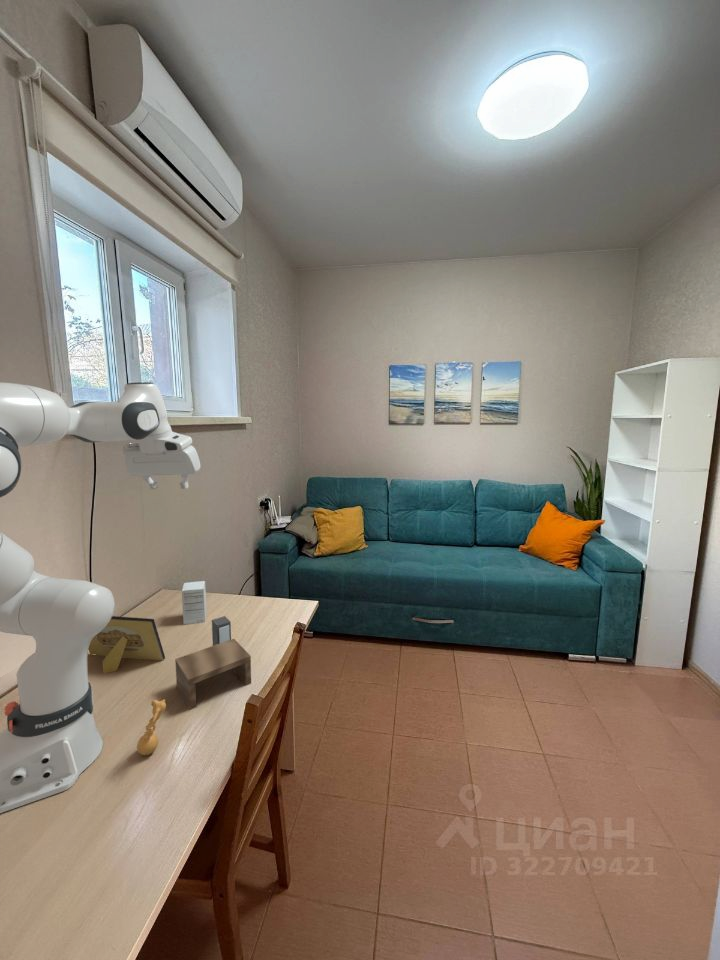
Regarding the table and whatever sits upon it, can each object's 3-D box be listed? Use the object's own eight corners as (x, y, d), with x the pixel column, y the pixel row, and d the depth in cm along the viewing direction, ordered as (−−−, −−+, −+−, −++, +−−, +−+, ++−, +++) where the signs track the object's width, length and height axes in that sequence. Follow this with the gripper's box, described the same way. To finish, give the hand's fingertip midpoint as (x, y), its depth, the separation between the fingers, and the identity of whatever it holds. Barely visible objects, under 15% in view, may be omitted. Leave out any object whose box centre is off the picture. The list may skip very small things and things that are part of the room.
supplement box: (185, 615, 144) (183, 582, 142) (207, 612, 146) (205, 580, 144) (182, 625, 137) (181, 590, 135) (205, 622, 139) (204, 588, 137)
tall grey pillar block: (218, 660, 116) (217, 626, 115) (213, 653, 120) (211, 620, 118) (231, 655, 119) (230, 621, 118) (225, 649, 123) (224, 616, 121)
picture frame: (165, 657, 117) (159, 613, 114) (146, 679, 109) (139, 632, 105) (93, 652, 120) (85, 608, 116) (69, 673, 111) (60, 627, 107)
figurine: (146, 737, 88) (143, 688, 86) (174, 735, 88) (172, 686, 87) (129, 769, 79) (125, 716, 78) (161, 767, 80) (158, 713, 79)
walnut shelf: (189, 709, 96) (188, 679, 95) (176, 686, 105) (175, 659, 104) (251, 683, 107) (250, 655, 106) (234, 664, 115) (234, 638, 114)
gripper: (113, 446, 105) (128, 493, 110) (185, 444, 103) (197, 492, 108) (128, 439, 111) (142, 484, 116) (197, 437, 109) (207, 483, 114)
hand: (169, 488), depth 112 cm, fingers open, 8 cm apart
